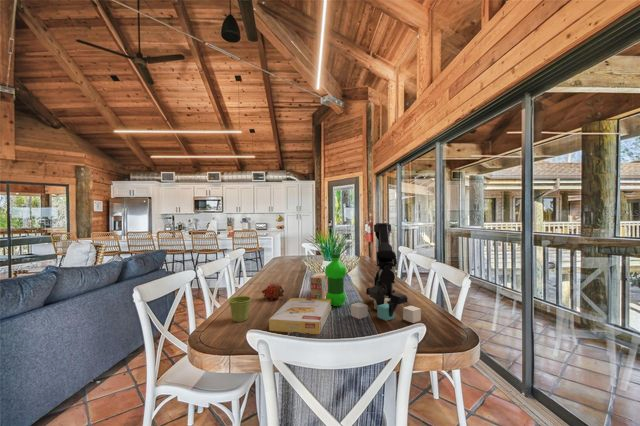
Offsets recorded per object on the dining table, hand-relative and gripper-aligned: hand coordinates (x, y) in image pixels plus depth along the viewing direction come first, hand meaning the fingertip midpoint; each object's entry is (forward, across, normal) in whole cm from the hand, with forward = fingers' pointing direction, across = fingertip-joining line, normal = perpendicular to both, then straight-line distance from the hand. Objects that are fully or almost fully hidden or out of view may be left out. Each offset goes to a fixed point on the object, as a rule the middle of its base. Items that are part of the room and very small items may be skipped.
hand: (385, 314), depth 122 cm
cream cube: (+1, +8, +7) cm, 11 cm away
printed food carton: (+2, -44, -3) cm, 44 cm away
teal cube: (+1, 0, 0) cm, 1 cm away
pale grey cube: (+1, -8, -8) cm, 11 cm away
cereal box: (+2, -19, -30) cm, 35 cm away
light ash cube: (+1, -9, +7) cm, 11 cm away
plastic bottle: (+1, -26, -7) cm, 27 cm away
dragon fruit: (+2, -53, -28) cm, 60 cm away
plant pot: (+2, -34, -52) cm, 62 cm away
